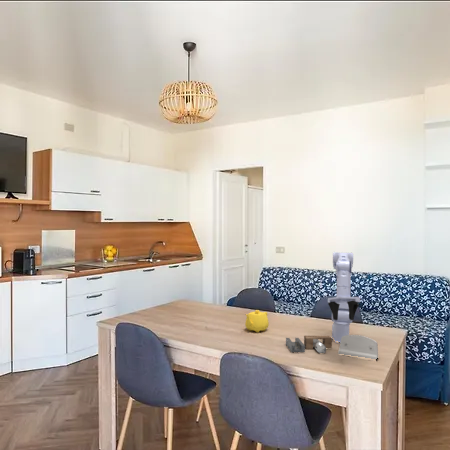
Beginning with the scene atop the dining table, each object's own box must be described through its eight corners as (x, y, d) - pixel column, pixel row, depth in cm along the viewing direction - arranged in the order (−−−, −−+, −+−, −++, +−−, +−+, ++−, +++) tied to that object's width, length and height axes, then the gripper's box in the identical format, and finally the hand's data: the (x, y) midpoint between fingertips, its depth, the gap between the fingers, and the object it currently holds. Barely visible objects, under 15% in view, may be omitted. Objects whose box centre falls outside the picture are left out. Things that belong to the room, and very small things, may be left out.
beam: (303, 346, 181) (304, 335, 181) (328, 346, 182) (329, 335, 182) (306, 349, 177) (306, 338, 177) (331, 349, 178) (331, 338, 178)
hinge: (337, 354, 170) (339, 331, 173) (339, 355, 174) (341, 333, 177) (377, 362, 162) (378, 337, 165) (378, 362, 166) (380, 338, 169)
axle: (312, 347, 181) (310, 339, 181) (320, 345, 181) (318, 337, 181) (318, 355, 171) (316, 346, 171) (327, 352, 171) (325, 344, 171)
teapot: (252, 336, 196) (253, 315, 196) (237, 331, 204) (237, 311, 204) (274, 329, 209) (274, 309, 209) (258, 325, 217) (259, 306, 217)
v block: (285, 344, 183) (285, 337, 183) (298, 344, 184) (298, 337, 184) (291, 352, 171) (291, 345, 171) (304, 352, 172) (304, 345, 172)
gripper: (323, 286, 169) (323, 318, 164) (353, 284, 158) (353, 318, 154) (333, 290, 173) (332, 320, 168) (362, 288, 162) (362, 320, 158)
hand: (343, 319), depth 161 cm, fingers open, 7 cm apart
